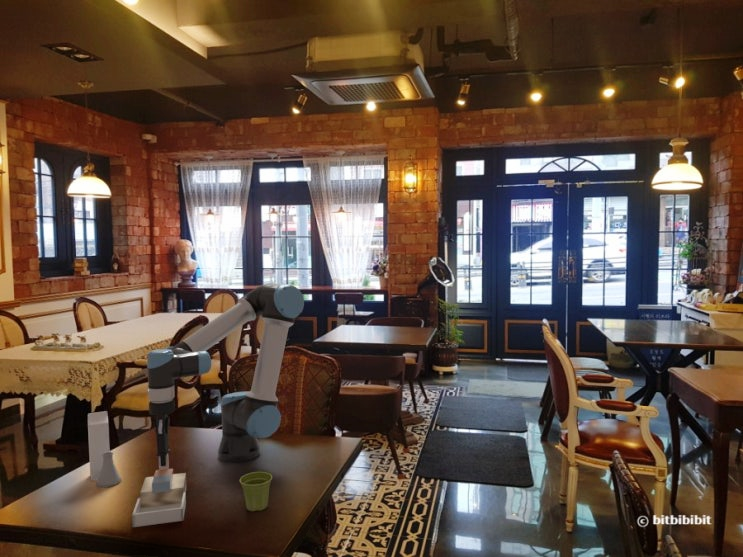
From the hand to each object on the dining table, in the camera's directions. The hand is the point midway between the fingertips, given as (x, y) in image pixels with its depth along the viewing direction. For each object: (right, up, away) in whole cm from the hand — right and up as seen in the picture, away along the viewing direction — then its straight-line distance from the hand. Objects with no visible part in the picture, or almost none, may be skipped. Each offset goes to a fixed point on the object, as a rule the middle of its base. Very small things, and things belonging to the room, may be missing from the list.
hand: (164, 474), depth 173 cm
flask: (-22, -6, +10) cm, 25 cm away
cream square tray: (+1, -6, -3) cm, 7 cm away
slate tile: (+2, -1, -8) cm, 8 cm away
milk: (-27, -6, +15) cm, 32 cm away
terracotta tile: (+1, -1, -3) cm, 3 cm away
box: (+4, -7, -14) cm, 16 cm away
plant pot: (+31, -6, -10) cm, 33 cm away
